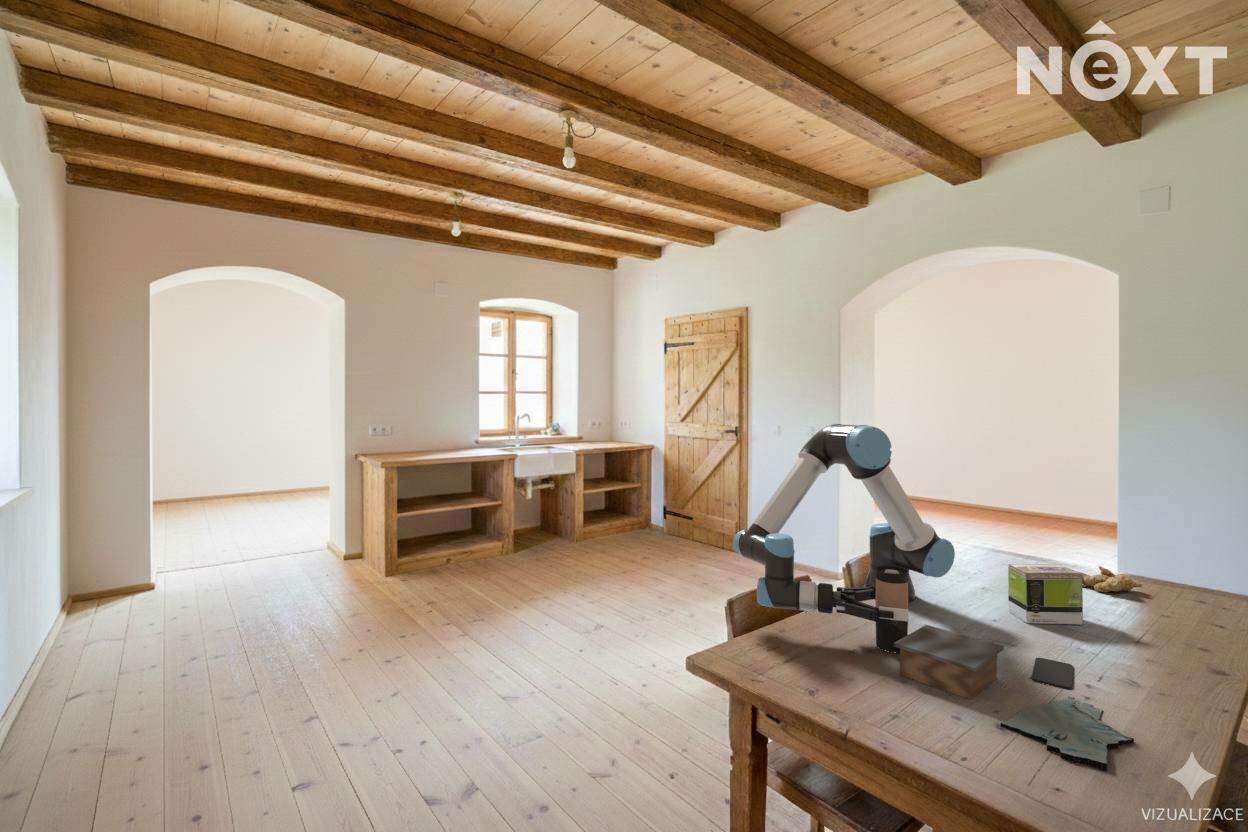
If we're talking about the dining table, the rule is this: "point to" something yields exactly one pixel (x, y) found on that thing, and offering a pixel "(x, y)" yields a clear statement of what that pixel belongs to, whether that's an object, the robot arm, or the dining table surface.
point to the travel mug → (891, 605)
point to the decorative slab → (1069, 731)
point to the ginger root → (1109, 581)
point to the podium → (948, 660)
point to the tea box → (1045, 594)
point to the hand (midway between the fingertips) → (905, 606)
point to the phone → (1053, 673)
